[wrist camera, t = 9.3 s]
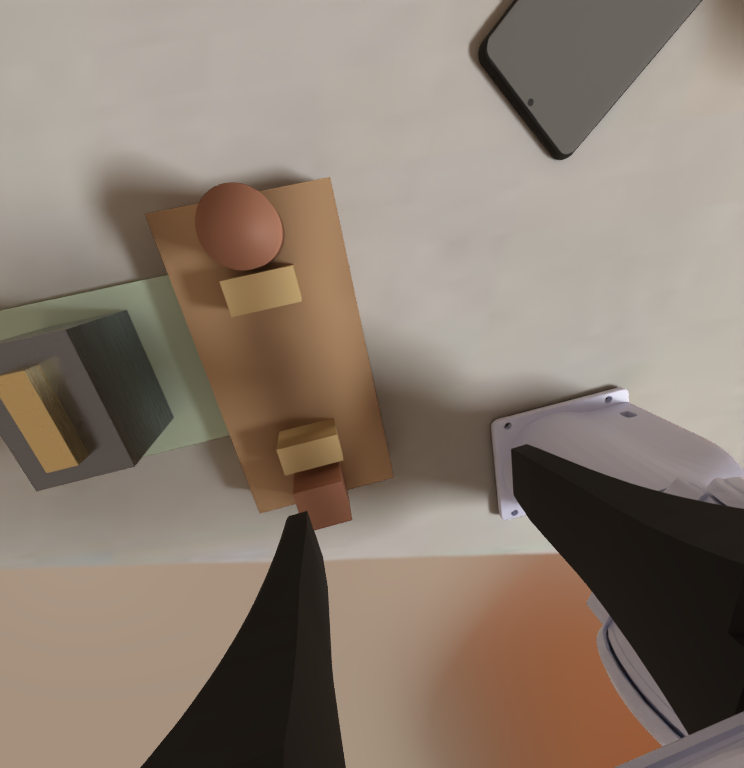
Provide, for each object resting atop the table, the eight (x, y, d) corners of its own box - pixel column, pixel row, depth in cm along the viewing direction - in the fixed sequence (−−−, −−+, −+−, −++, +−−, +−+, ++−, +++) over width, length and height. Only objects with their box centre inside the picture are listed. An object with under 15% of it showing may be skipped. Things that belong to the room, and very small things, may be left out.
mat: (171, 274, 18) (169, 274, 18) (231, 432, 22) (230, 435, 21) (-20, 314, 18) (-27, 316, 17) (71, 471, 21) (67, 475, 21)
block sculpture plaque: (328, 184, 18) (334, 161, 14) (387, 459, 24) (405, 510, 19) (162, 217, 18) (109, 205, 13) (263, 492, 23) (252, 552, 19)
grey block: (126, 309, 18) (51, 334, 13) (174, 417, 20) (126, 476, 15) (42, 328, 18) (-72, 361, 13) (99, 435, 20) (22, 503, 15)
